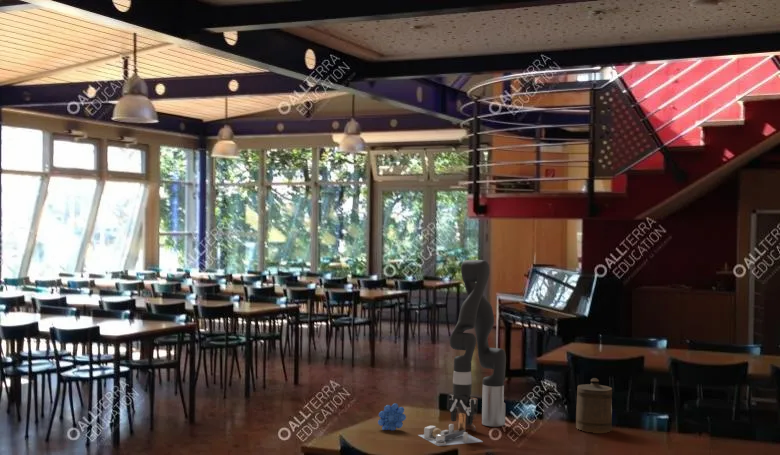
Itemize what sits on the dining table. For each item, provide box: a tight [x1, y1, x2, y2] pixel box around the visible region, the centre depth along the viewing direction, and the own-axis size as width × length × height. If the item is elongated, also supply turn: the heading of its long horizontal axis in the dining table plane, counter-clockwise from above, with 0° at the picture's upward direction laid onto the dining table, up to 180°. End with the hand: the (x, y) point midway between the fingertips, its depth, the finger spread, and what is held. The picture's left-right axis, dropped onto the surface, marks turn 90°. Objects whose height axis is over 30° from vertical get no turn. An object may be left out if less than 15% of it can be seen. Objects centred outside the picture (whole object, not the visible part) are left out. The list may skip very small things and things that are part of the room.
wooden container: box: [575, 377, 613, 434], centre depth 339 cm, size 15×15×22 cm
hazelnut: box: [432, 427, 442, 438], centre depth 313 cm, size 4×4×4 cm
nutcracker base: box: [417, 423, 484, 447], centre depth 313 cm, size 20×18×6 cm
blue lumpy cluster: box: [377, 403, 407, 431], centre depth 327 cm, size 12×7×12 cm, turn 81°
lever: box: [436, 413, 466, 442], centre depth 311 cm, size 19×4×8 cm, turn 144°
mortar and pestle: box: [456, 396, 477, 432], centre depth 331 cm, size 12×9×20 cm
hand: (461, 422), depth 318 cm, fingers open, 8 cm apart
